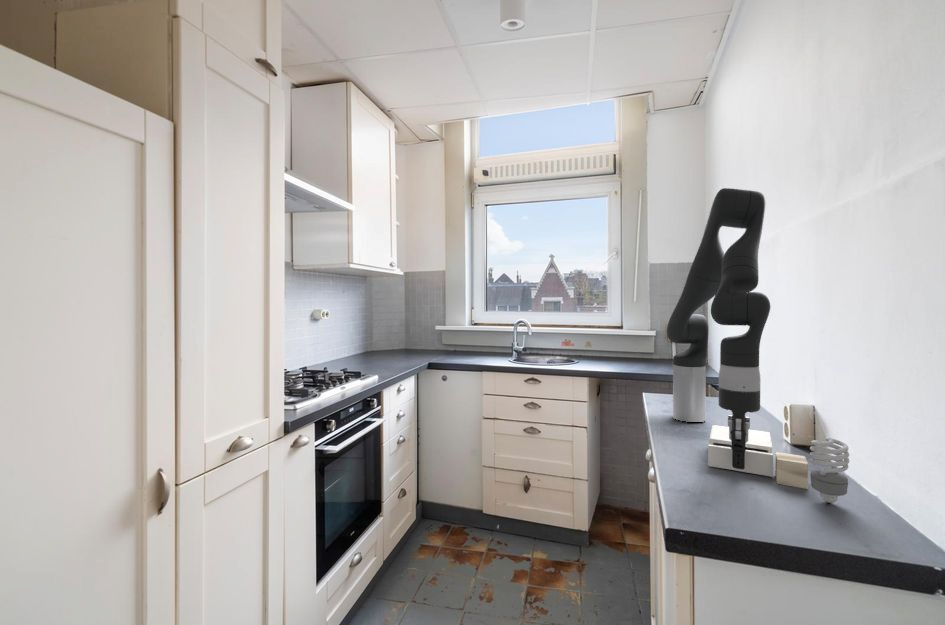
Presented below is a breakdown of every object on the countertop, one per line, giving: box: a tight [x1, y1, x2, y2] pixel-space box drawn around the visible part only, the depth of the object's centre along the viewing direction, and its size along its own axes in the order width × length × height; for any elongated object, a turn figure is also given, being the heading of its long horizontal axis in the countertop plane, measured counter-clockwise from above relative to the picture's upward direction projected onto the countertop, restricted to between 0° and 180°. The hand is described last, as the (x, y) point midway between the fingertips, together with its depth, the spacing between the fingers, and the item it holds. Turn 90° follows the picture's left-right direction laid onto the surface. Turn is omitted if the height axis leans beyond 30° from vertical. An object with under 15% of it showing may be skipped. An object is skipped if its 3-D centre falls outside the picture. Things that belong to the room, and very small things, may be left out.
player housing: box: [708, 424, 773, 454], centre depth 102 cm, size 13×12×6 cm
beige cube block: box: [774, 451, 809, 490], centre depth 89 cm, size 5×5×5 cm
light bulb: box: [809, 436, 850, 504], centre depth 79 cm, size 6×6×12 cm
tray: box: [707, 443, 774, 478], centre depth 100 cm, size 13×12×5 cm
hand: (738, 467), depth 92 cm, fingers closed
